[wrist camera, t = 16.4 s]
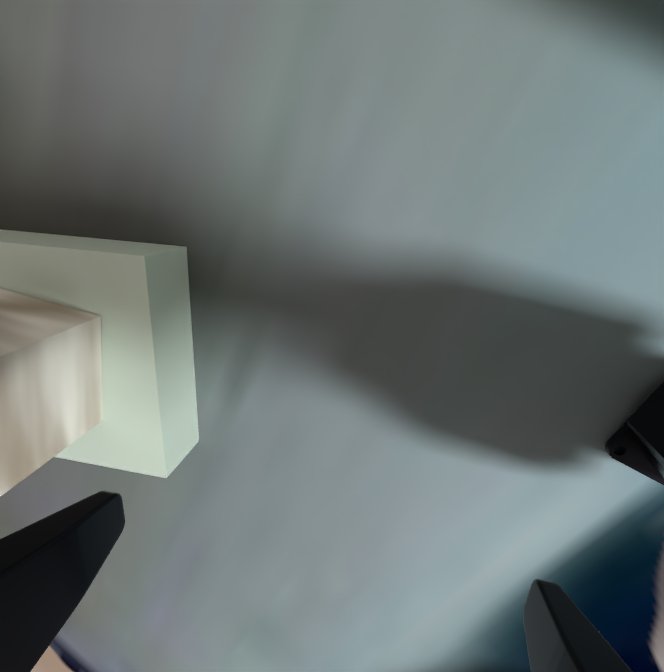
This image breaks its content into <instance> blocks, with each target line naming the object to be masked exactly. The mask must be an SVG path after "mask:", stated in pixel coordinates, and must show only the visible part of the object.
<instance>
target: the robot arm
mask: <svg viewBox="0 0 664 672" xmlns="http://www.w3.org/2000/svg"><path fill="white" fill-rule="evenodd" d="M617 447H622V448H621V449H620V450H617V451H615V449H616V448H617ZM605 449H606V451H607V452H608V454H609V455H610V456H611V457H612V458H613V459H615V460H617V461H619V462H621V463H623V464H625V465H627V466H629V467H630V468H632V469H634V470H636V471H638V472H640V473H642V474H644V475H646V476H647V477H649V478H651V479H653V480H655V481H657V482H659V483H661V484H663V485H664V382H663V384H662V385H661V386H660V387H659V388H658V389H657V390H656V391H655V392H654V393H653V394H652V395H651V396H650V397H649V398H648V399H647V400H646V401H645V402H644V403H643V404H642V405H641V406H640V407H639V409H638V410H637V411H636V412H635V413H634V414H633V415H632V416H631V417H630V418H629V419H628V421H627V422H626V423H625V424H624V425H623V426H622V427H621V428H620V429H619V430H618V431H617V432H616V433H615V434H614V435H613V436H612V437H611V438H610V439H609V440H608V441H607V443H606V444H605ZM124 525H125V516H124V509H123V502H122V497H121V495H120V494H119V493H115V492H110V491H100V492H98V493H95V494H93V495H91V496H89V497H87V498H85V499H83V500H81V501H79V502H77V503H75V504H73V505H70V506H68V507H66V508H64V509H62V510H60V511H58V512H56V513H54V514H52V515H50V516H48V517H45V518H43V519H41V520H39V521H37V522H35V523H33V524H31V525H29V526H27V527H25V528H23V529H21V530H18V531H16V532H14V533H12V534H10V535H8V536H6V537H4V538H2V539H0V672H30V671H31V670H32V669H33V667H34V666H35V664H36V663H37V662H38V660H39V659H40V657H41V656H42V655H43V653H44V652H45V650H46V649H47V648H48V646H49V645H50V643H51V642H52V641H53V639H54V638H55V636H56V635H57V634H58V632H59V631H60V629H61V628H62V627H63V625H64V624H65V622H66V621H67V620H68V618H69V617H70V615H71V614H72V612H73V611H74V610H75V608H76V607H77V605H78V604H79V602H80V601H81V599H82V598H83V596H84V595H85V593H86V591H87V590H88V588H89V587H90V585H91V583H92V582H93V580H94V578H95V577H96V575H97V573H98V571H99V570H100V568H101V566H102V565H103V563H104V561H105V560H106V558H107V556H108V555H109V553H110V551H111V550H112V548H113V546H114V545H115V543H116V541H117V540H118V538H119V536H120V534H121V533H122V531H123V528H124ZM523 619H524V627H525V633H526V640H527V647H528V654H529V661H530V668H531V672H633V671H632V670H631V669H630V668H629V667H628V666H627V664H626V663H625V662H624V661H623V660H622V659H621V657H620V656H619V655H618V654H617V653H616V651H615V650H614V649H613V648H612V647H611V646H610V644H609V643H608V642H607V641H606V640H605V638H604V637H603V636H602V635H601V634H600V633H599V631H598V630H597V629H596V628H595V627H594V625H593V624H592V623H591V622H590V621H589V620H588V618H587V617H586V616H585V615H584V614H583V613H582V611H581V610H580V609H579V608H578V607H577V605H576V604H575V603H574V602H573V601H572V600H571V598H570V597H569V596H568V595H567V594H566V592H565V591H564V590H563V589H562V588H561V587H560V586H559V585H558V584H556V583H554V582H550V581H545V580H540V579H535V580H534V581H533V583H532V585H531V588H530V591H529V594H528V597H527V600H526V603H525V606H524V611H523Z"/></svg>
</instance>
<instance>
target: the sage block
mask: <svg viewBox="0 0 664 672" xmlns="http://www.w3.org/2000/svg"><path fill="white" fill-rule="evenodd" d="M0 288H2V289H5V290H9V291H12V292H16V293H20V294H23V295H27V296H30V297H34V298H38V299H41V300H45V301H48V302H52V303H56V304H59V305H63V306H66V307H70V308H74V309H77V310H81V311H84V312H88V313H92V314H95V315H99V316H101V357H102V421H101V422H100V423H98V424H97V425H96V426H94V427H93V428H92V429H90V430H89V431H88V432H86V433H85V434H84V435H82V436H81V437H80V438H78V439H77V440H76V441H74V442H73V443H72V444H70V445H69V446H68V447H66V448H65V449H63V450H62V451H61V452H59V453H58V454H57V455H55V456H54V457H58V458H63V459H69V460H74V461H79V462H84V463H90V464H95V465H100V466H105V467H110V468H116V469H121V470H126V471H131V472H137V473H142V474H147V475H152V476H158V477H163V478H167V477H168V476H169V475H170V474H171V472H172V471H173V470H174V469H175V468H176V467H177V465H178V464H179V463H180V462H181V461H182V460H183V459H184V457H185V456H186V455H187V454H188V453H189V452H190V451H191V449H192V448H193V447H194V446H195V445H196V444H197V442H198V441H199V434H198V418H197V403H196V387H195V371H194V356H193V340H192V324H191V309H190V293H189V277H188V262H187V247H184V246H174V245H163V244H152V243H141V242H131V241H120V240H109V239H98V238H87V237H77V236H66V235H55V234H44V233H34V232H23V231H12V230H1V229H0Z"/></svg>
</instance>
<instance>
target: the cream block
mask: <svg viewBox="0 0 664 672" xmlns="http://www.w3.org/2000/svg"><path fill="white" fill-rule="evenodd" d="M101 421H102V357H101V316H99V315H95V314H92V313H88V312H84V311H81V310H77V309H74V308H70V307H66V306H63V305H59V304H56V303H52V302H48V301H45V300H41V299H38V298H34V297H30V296H27V295H23V294H20V293H16V292H12V291H9V290H5V289H2V288H0V496H2V495H3V494H4V493H6V492H7V491H8V490H10V489H11V488H12V487H14V486H15V485H16V484H18V483H19V482H20V481H22V480H23V479H24V478H26V477H27V476H29V475H30V474H31V473H33V472H34V471H35V470H37V469H38V468H39V467H41V466H42V465H43V464H45V463H46V462H47V461H49V460H50V459H51V458H53V457H54V456H55V455H57V454H58V453H59V452H61V451H62V450H63V449H65V448H66V447H68V446H69V445H70V444H72V443H73V442H74V441H76V440H77V439H78V438H80V437H81V436H82V435H84V434H85V433H86V432H88V431H89V430H90V429H92V428H93V427H94V426H96V425H97V424H98V423H100V422H101Z"/></svg>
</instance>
